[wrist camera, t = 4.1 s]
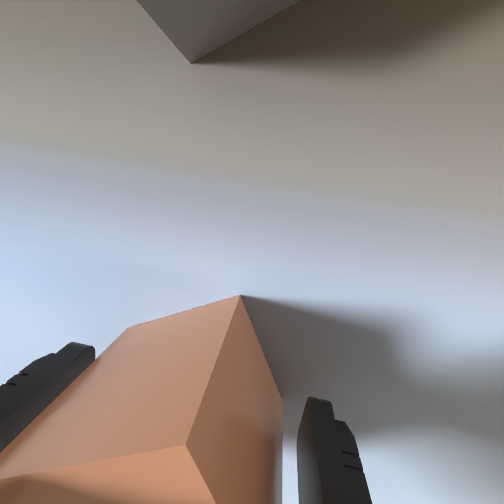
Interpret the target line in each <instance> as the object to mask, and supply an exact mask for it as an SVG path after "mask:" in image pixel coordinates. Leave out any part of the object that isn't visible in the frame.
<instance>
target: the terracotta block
mask: <svg viewBox="0 0 504 504" xmlns="http://www.w3.org/2000/svg"><path fill="white" fill-rule="evenodd" d="M282 440H283V400H282V397H281V395H280V392H279V390H278V387H277V385H276V382H275V380H274V377H273V375H272V372H271V370H270V367H269V365H268V362H267V360H266V357H265V355H264V352H263V350H262V347H261V345H260V342H259V340H258V337H257V335H256V332H255V330H254V327H253V325H252V322H251V320H250V317H249V315H248V313H247V310H246V308H245V305H244V303H243V300H242V298H241V295H238V296H234V297H231V298H227V299H224V300H221V301H217V302H214V303H210V304H207V305H204V306H200V307H197V308H193V309H190V310H187V311H183V312H180V313H176V314H173V315H170V316H166V317H163V318H159V319H156V320H153V321H149V322H146V323H142V324H139V325H136V326H132V327H129V328H127V329H126V330H125V331H124V332H123V333H122V334H121V335H120V336H119V337H118V338H117V339H116V340H115V341H114V342H113V343H112V344H111V345H110V346H109V347H108V348H107V349H106V350H105V351H104V352H103V353H102V354H101V355H100V356H99V357H98V358H97V359H96V360H95V361H94V362H93V363H92V364H90V365H89V366H88V367H87V368H86V369H85V370H84V371H83V372H82V373H81V374H80V375H79V376H78V377H77V378H76V379H75V380H74V381H73V382H72V383H71V384H70V385H69V386H68V387H67V388H66V389H65V390H64V391H63V392H62V393H61V394H60V395H59V396H58V397H57V398H56V399H55V400H54V401H53V402H52V403H51V404H50V405H49V406H48V407H47V408H46V409H45V410H44V411H43V412H42V413H41V414H40V415H38V416H37V417H36V418H35V419H34V420H33V421H32V422H31V423H30V424H29V425H28V426H27V427H26V428H25V429H24V430H23V431H22V432H21V433H20V434H19V435H18V436H17V437H16V438H15V439H14V440H13V441H12V442H11V443H10V444H9V445H8V446H7V447H6V448H5V449H4V450H3V451H2V452H1V453H0V504H282Z"/></svg>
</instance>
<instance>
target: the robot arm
mask: <svg viewBox="0 0 504 504" xmlns="http://www.w3.org/2000/svg"><path fill="white" fill-rule="evenodd" d="M94 361H95V348H94V347H93V346H89V345H85V344H80V343H76V342H71V343H69V344H67V345H66V346H65V347H64V348H62V349H61V350H60V351H58V352H57V353H56V354H54V353H51V354H48V355H46V356H44V357H42V358H40V359H37V360H35V361H33V362H32V363H31V364H29V365H28V366H27V367H25V368H24V369H23V370H21V371H20V372H19V374H18V375H17V374H16V375H15V376H13V377H12V378H11V379H9V380H8V381H7V382H6V384H3V385H1V386H0V453H1V452H2V451H3V450H4V449H5V448H6V447H7V446H8V445H9V444H10V443H11V442H12V441H13V440H14V439H15V438H16V437H17V436H18V435H19V434H20V433H21V432H22V431H23V430H24V429H25V428H26V427H27V426H28V425H29V424H30V423H31V422H32V421H33V420H34V419H35V418H36V417H37V416H38V415H40V414H41V413H42V412H43V411H44V410H45V409H46V408H47V407H48V406H49V405H50V404H51V403H52V402H53V401H54V400H55V399H56V398H57V397H58V396H59V395H60V394H61V393H62V392H63V391H64V390H65V389H66V388H67V387H68V386H69V385H70V384H71V383H72V382H73V381H74V380H75V379H76V378H77V377H78V376H79V375H80V374H81V373H82V372H83V371H84V370H85V369H86V368H87V367H88V366H89V365H90V364H92V363H93V362H94ZM297 470H298V493H299V504H372V501H371V497H370V493H369V490H368V486H367V482H366V478H365V474H364V473H363V467H362V463H361V459H360V458H359V452H358V448H357V444H356V441H355V437H354V436H353V434H352V433H351V431H350V429H349V428H348V426H347V425H346V423H345V422H343V421H338V420H335V419H334V414H333V409H332V404H331V402H330V401H326V400H322V399H317V398H313V397H308V399H307V402H306V405H305V409H304V412H303V416H302V419H301V423H300V426H299V430H298V436H297Z"/></svg>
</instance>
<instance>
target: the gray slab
mask: <svg viewBox="0 0 504 504" xmlns="http://www.w3.org/2000/svg"><path fill="white" fill-rule="evenodd" d="M137 1H138V2H139V3H140V5H141V6H142V7H143V8H144V9H145V11H146V12H147V13H148V14H149V15H150V16H151V18H152V19H153V20H154V21H155V22H156V23H157V25H158V26H159V27H160V28H161V29H162V30H163V32H164V33H165V34H166V35H167V36H168V37H169V39H170V40H171V41H172V42H173V43H174V44H175V46H176V47H177V48H178V49H179V50H180V52H181V53H182V54H183V55H184V56H185V57H186V59H187V60H188V61H189V62H190V63H193V62H195V61H197V60H198V59H200V58H202V57H204V56H205V55H207V54H209V53H211V52H212V51H214V50H216V49H218V48H219V47H221V46H223V45H225V44H226V43H228V42H230V41H231V40H233V39H235V38H237V37H238V36H240V35H242V34H244V33H245V32H247V31H249V30H251V29H252V28H254V27H256V26H258V25H259V24H261V23H263V22H265V21H266V20H268V19H270V18H272V17H273V16H275V15H277V14H278V13H280V12H282V11H284V10H285V9H287V8H289V7H291V6H292V5H294V4H296V3H298V2H299V1H301V0H137Z"/></svg>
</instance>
